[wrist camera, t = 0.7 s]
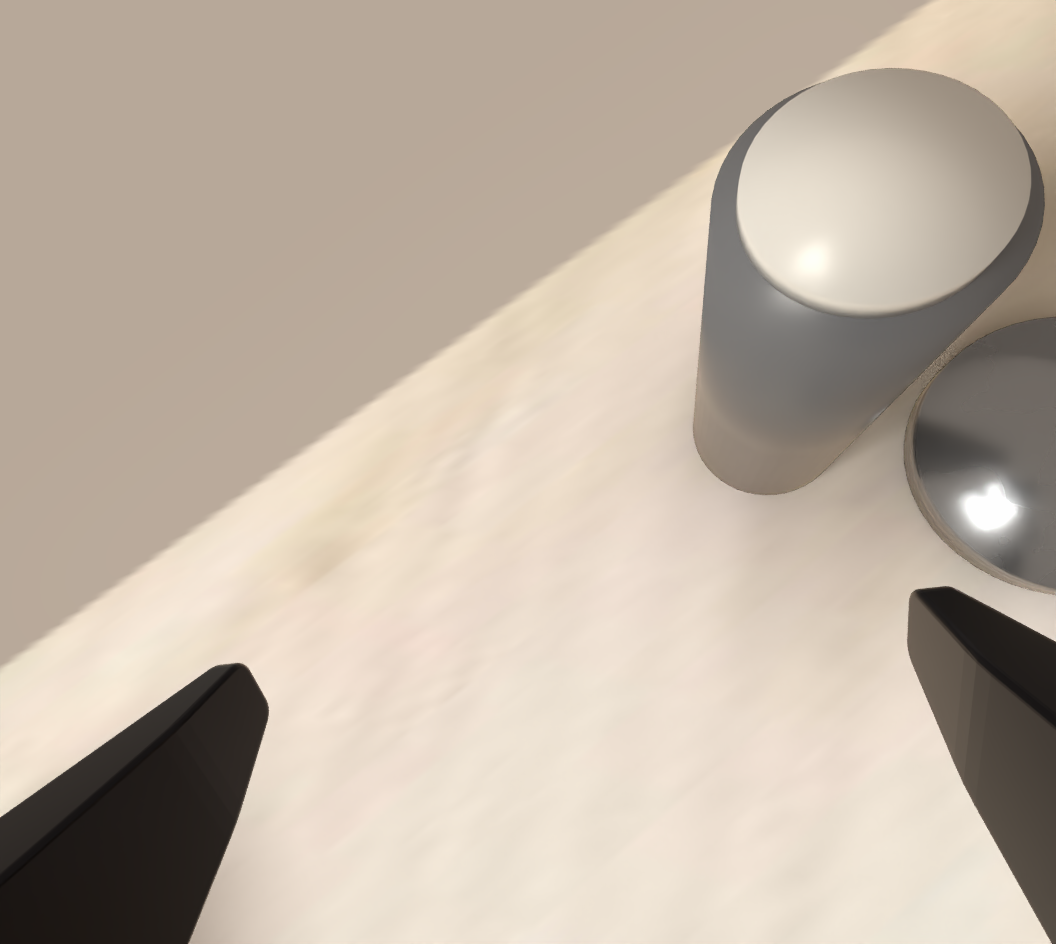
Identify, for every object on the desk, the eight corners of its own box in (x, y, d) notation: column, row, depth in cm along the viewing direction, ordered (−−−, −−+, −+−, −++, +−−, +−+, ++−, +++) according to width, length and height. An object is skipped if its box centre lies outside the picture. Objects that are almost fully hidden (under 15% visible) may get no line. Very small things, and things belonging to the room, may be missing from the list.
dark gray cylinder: (843, 496, 21) (1084, 321, 8) (692, 493, 22) (712, 336, 10) (836, 346, 22) (1040, -3, 10) (693, 350, 23) (711, 44, 11)
